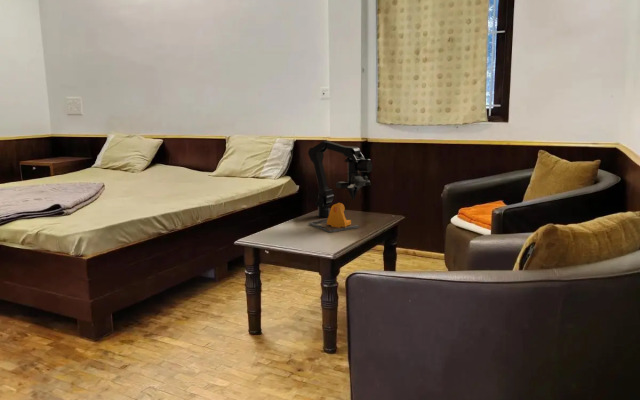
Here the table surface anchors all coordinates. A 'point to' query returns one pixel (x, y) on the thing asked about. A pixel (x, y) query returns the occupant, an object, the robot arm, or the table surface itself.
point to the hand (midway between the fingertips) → (353, 199)
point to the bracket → (337, 216)
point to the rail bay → (329, 229)
